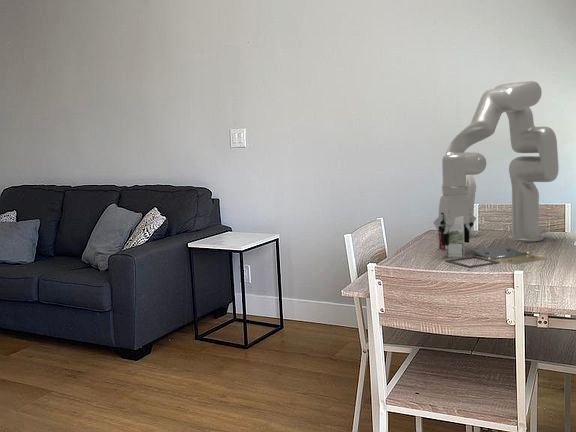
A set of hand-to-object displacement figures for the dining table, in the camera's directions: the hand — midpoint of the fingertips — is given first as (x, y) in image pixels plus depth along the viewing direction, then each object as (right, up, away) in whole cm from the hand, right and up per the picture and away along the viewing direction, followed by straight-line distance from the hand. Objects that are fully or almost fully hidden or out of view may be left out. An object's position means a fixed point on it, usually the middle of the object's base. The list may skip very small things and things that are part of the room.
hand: (455, 243), depth 206 cm
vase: (+13, 0, +40) cm, 42 cm away
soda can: (+1, -3, +14) cm, 14 cm away
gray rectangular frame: (+2, -6, -12) cm, 13 cm away
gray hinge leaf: (+14, -4, -2) cm, 15 cm away
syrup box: (0, -5, +1) cm, 5 cm away
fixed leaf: (+18, -5, -10) cm, 21 cm away
